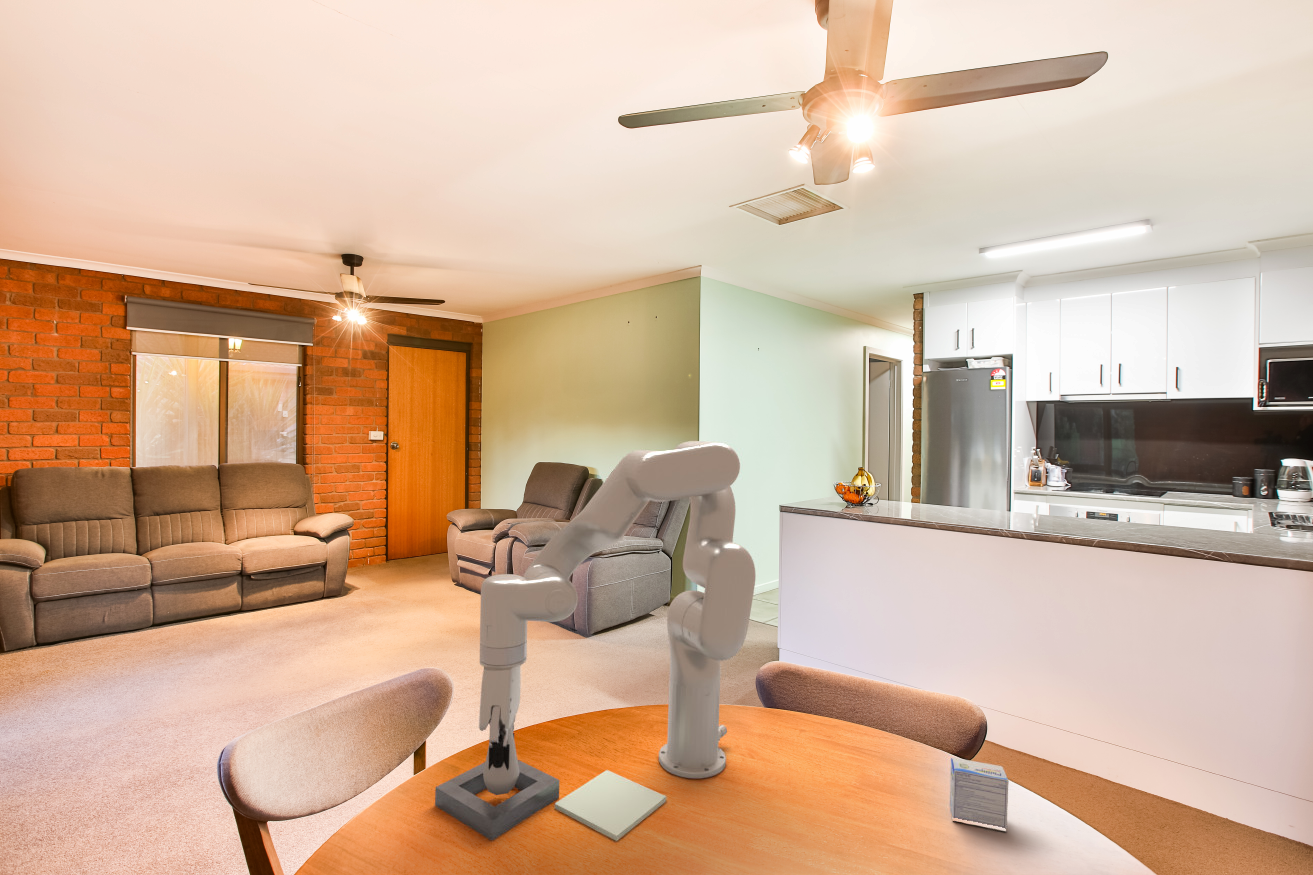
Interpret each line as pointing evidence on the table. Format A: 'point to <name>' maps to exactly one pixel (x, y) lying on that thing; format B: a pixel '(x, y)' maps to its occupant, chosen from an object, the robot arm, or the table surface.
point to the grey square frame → (501, 818)
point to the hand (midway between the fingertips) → (501, 762)
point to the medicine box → (978, 792)
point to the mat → (610, 804)
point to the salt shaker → (502, 770)
